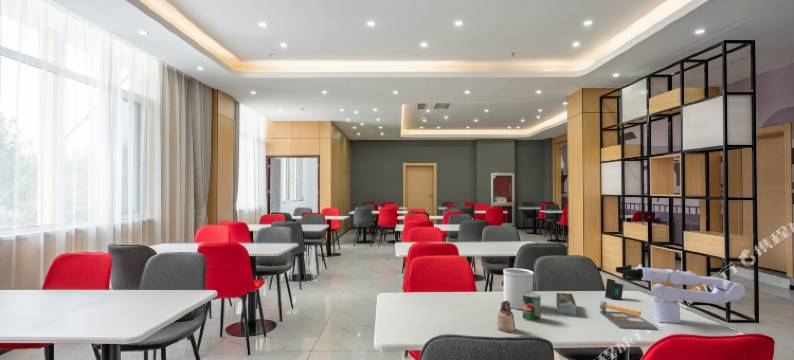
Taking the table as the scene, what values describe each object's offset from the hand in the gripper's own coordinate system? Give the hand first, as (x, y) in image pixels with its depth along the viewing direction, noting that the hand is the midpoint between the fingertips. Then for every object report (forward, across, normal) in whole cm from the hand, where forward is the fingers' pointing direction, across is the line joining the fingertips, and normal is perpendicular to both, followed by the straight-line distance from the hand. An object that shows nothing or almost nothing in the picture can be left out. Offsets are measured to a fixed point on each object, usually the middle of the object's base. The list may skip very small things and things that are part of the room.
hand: (619, 271), depth 186 cm
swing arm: (-2, -1, +19) cm, 19 cm away
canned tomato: (+39, +6, +25) cm, 47 cm away
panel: (-3, +3, +21) cm, 22 cm away
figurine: (+53, +22, +26) cm, 63 cm away
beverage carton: (+19, -10, +24) cm, 32 cm away
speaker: (-15, -36, +21) cm, 44 cm away
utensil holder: (+41, -14, +25) cm, 50 cm away
